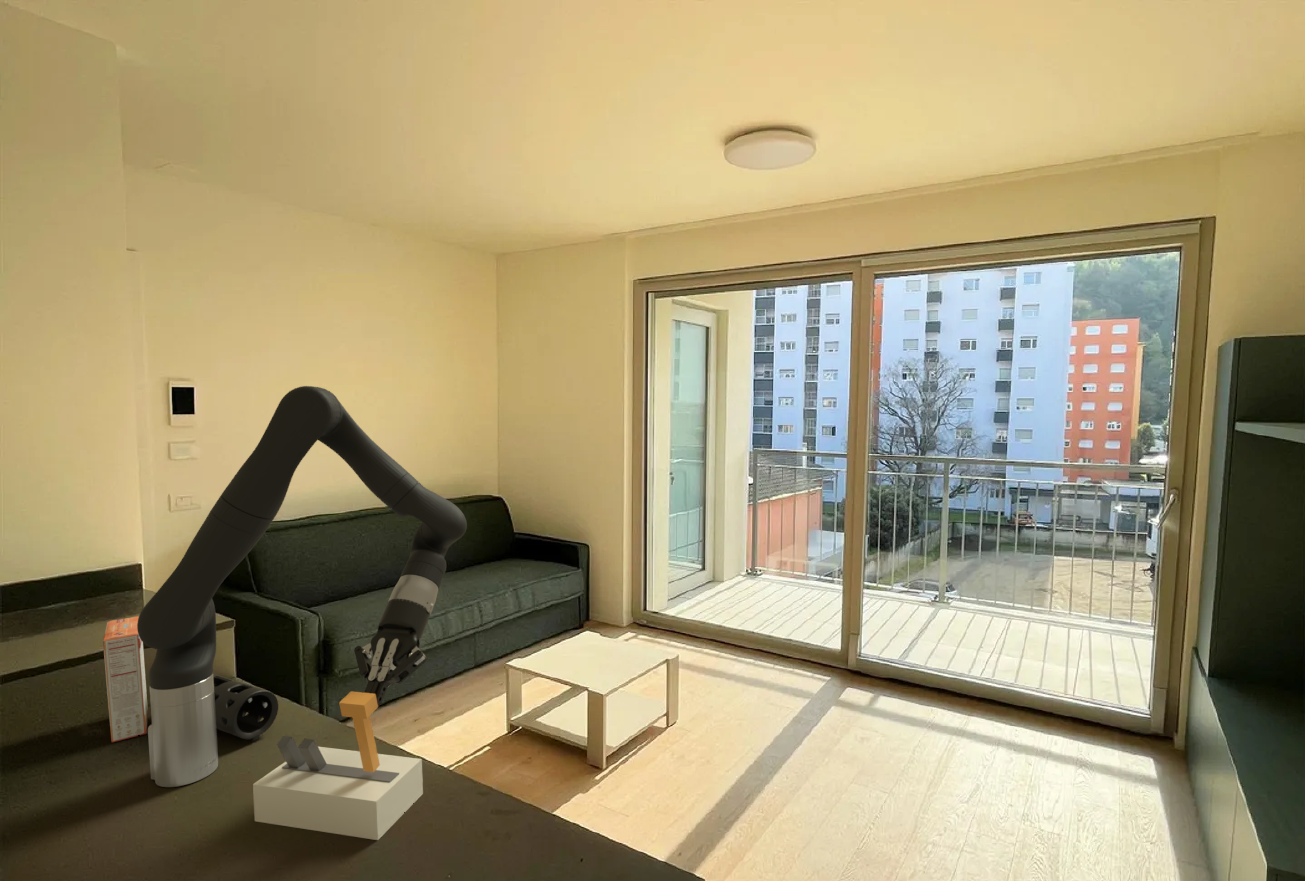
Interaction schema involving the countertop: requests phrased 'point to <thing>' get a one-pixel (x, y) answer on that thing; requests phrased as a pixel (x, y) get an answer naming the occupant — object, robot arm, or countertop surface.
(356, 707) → the lever
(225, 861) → the countertop surface
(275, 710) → the muzzle brake
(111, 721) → the cracker box
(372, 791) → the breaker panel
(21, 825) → the countertop surface
